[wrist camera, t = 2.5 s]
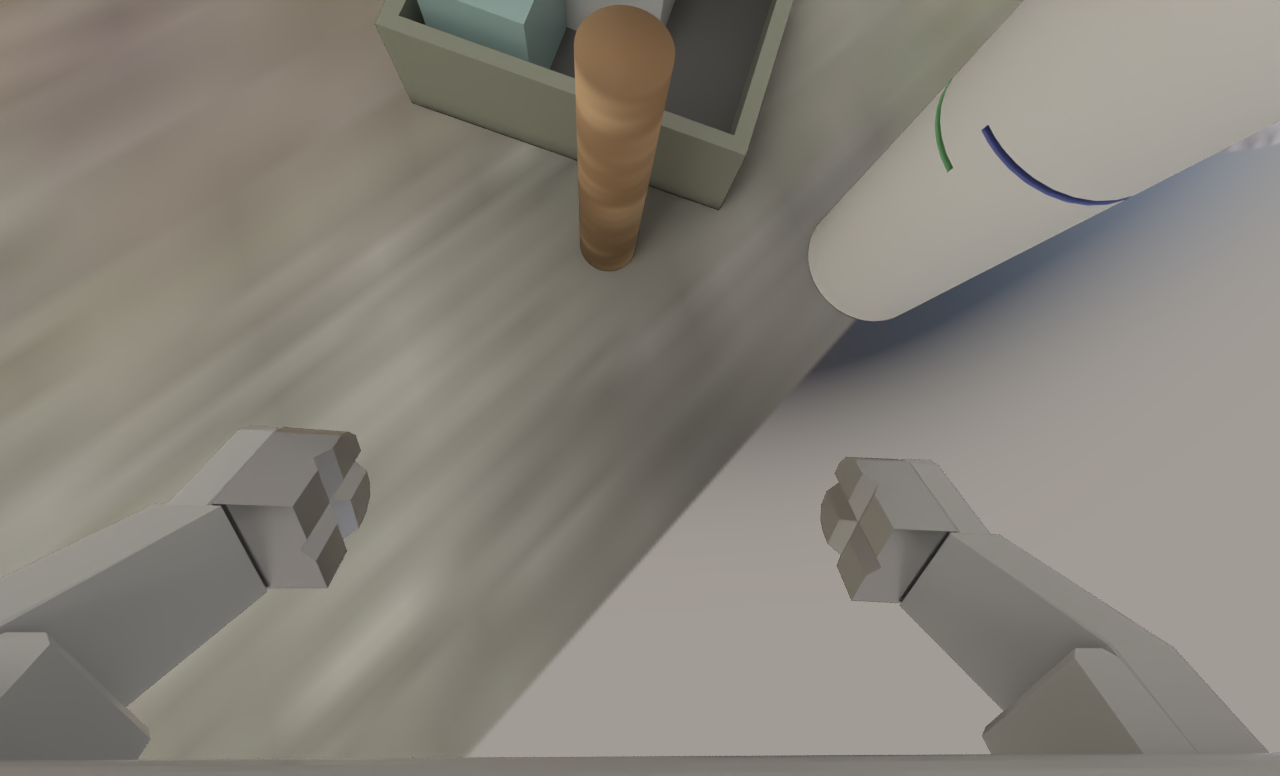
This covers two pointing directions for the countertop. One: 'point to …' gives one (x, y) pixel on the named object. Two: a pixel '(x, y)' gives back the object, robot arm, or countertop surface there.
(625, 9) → the brown wooden cylinder
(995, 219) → the cylindrical container
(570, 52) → the grey open box
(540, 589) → the countertop surface
